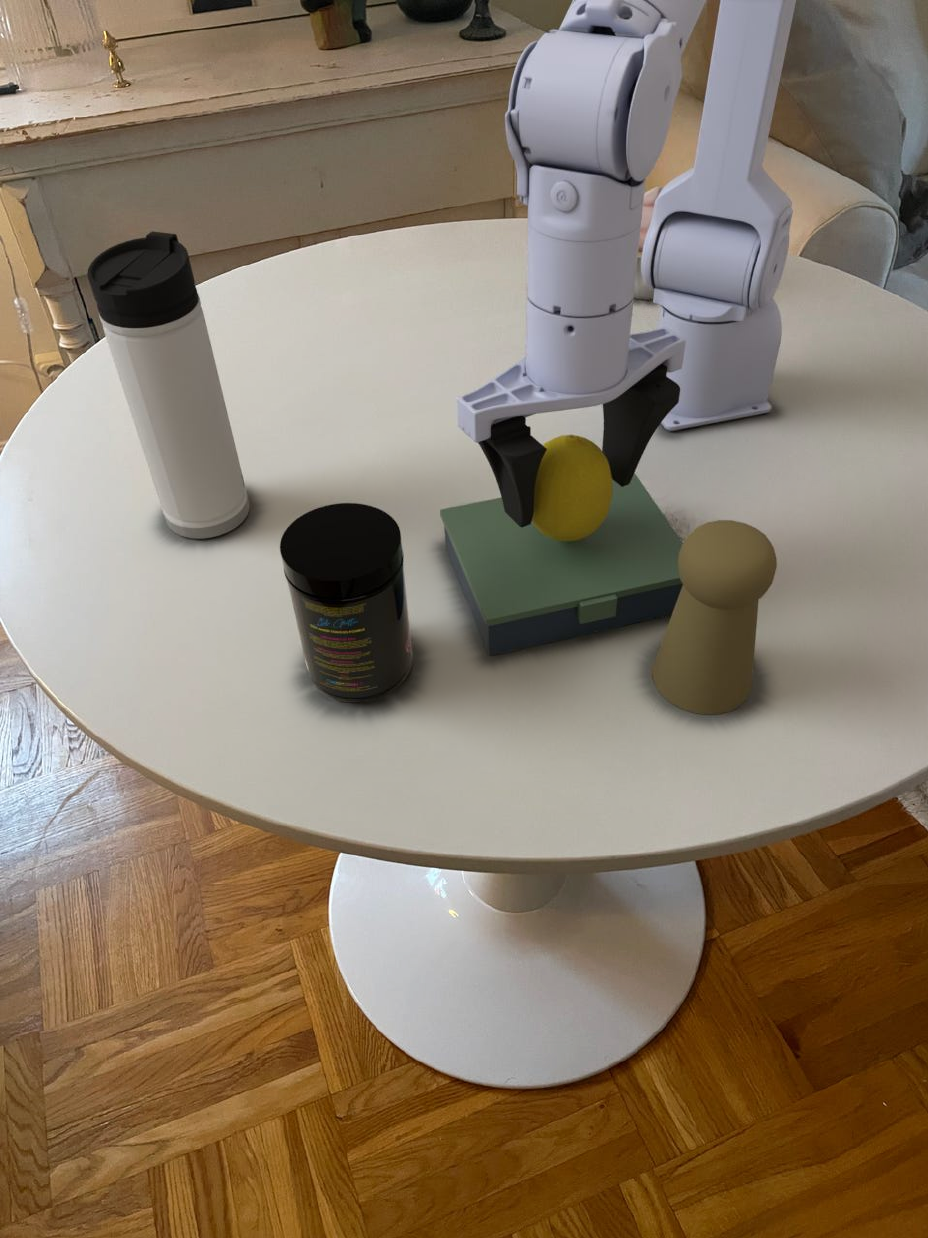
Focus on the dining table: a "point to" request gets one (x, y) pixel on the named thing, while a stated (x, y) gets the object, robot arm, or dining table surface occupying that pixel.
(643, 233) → the cupcake
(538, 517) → the lemon
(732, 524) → the brown pawn
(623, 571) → the lunchbox
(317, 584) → the supplement container
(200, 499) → the travel mug
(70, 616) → the dining table surface
